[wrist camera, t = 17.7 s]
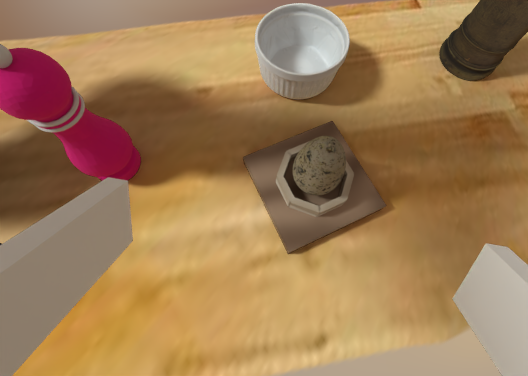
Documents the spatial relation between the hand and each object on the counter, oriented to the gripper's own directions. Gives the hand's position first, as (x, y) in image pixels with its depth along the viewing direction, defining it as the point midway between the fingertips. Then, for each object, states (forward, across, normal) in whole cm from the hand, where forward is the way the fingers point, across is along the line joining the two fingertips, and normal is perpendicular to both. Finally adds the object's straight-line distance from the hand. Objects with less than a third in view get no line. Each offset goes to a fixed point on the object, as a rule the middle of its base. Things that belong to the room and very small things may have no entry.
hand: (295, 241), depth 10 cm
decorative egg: (+25, +4, -8) cm, 27 cm away
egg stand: (+26, +4, -9) cm, 28 cm away
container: (+46, +27, +10) cm, 54 cm away
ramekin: (+40, -1, +4) cm, 40 cm away
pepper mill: (+26, -23, -11) cm, 36 cm away
